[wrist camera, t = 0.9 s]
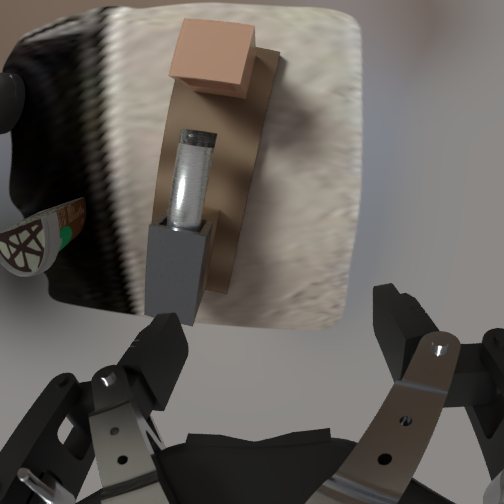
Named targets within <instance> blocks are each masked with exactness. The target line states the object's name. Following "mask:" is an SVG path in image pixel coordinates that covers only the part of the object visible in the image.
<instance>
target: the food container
mask: <svg viewBox="0 0 504 504" xmlns="http://www.w3.org/2000/svg"><path fill="white" fill-rule="evenodd" d="M85 219H86V202H85V198H84V197H82V198H79V199H76V200H73V201H70V202H67V203H64V204H61V205H58V206H55V207H52V208H50V209H47V210H44V211H41V212H39V213H36V214H34V215H32V216H30V217H28V218H26V219H24V220H22V221H20V222H18V223H16V224H14V225H12V226H10V227H8V228H6V229H5V230H3V231H1V232H0V263H1V264H2V265H3V266H4V267H5V268H6V269H7V270H8V271H10V272H11V273H13V274H15V275H18V276H22V277H26V276H33V275H37V274H39V273H42V272H44V271H46V270H47V269H49V268H50V266H51V265H52V264H53V262H54V261H55V259H56V256H57V253H58V252H59V251H60V250H61V249H62V248H63V247H65V246H66V245H67V244H68V243H69V242H70V241H71V240H73V239H74V238H75V237H76V236H77V235H78V234H79V233H80V232H81V230H82V228H83V226H84V223H85Z"/></svg>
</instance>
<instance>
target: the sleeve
mask: <svg viewBox="0 0 504 504" xmlns="http://www.w3.org/2000/svg"><path fill="white" fill-rule="evenodd" d="M167 217H168V212H164V213H162V214H161V215H160V216H159V217H158V218H157V219H156V220H155V221H153V222H152V223H151V224H150V225H149V234H148V246H147V261H146V280H145V313H144V315H147V316H151V317H155V316H156V315H157V314H160V313H172V312H174V313H176V314H177V316H178V318H179V321H180V324H185V325H189V326H193V324H194V321H195V318H196V315H197V312H198V309H199V305H200V302H201V295H202V289H203V282H204V276H205V269H206V263H207V257H208V251H209V245H210V239H211V233H212V228H213V221H208V220H207V222H206V223H205V225H204V227H203V228H202V230H201V232H200V233H198V232H193V231H188V230H183V229H179V228H174V227H169V226H167Z"/></svg>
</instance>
